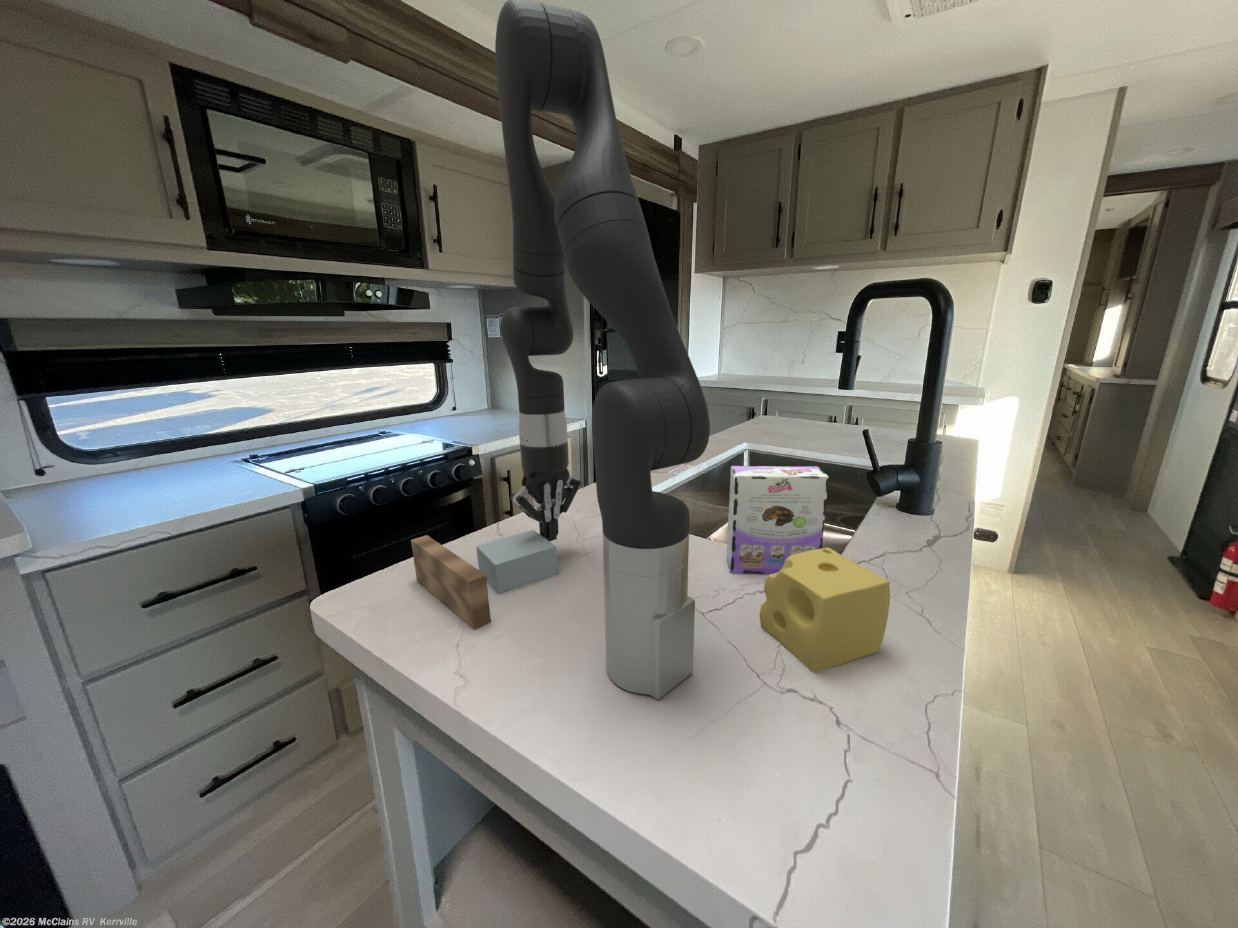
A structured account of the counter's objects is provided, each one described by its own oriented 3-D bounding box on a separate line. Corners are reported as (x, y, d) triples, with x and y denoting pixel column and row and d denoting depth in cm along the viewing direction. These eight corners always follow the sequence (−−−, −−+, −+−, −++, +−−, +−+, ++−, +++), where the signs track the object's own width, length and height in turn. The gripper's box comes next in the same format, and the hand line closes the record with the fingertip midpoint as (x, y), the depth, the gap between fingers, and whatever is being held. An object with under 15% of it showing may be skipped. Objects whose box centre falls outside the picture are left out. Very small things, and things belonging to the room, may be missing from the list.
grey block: (557, 574, 79) (555, 546, 78) (498, 595, 74) (495, 565, 72) (535, 556, 85) (533, 529, 84) (479, 573, 80) (476, 545, 79)
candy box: (809, 559, 83) (819, 464, 78) (819, 577, 77) (831, 476, 72) (725, 556, 84) (730, 463, 79) (729, 574, 78) (734, 474, 74)
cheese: (757, 626, 65) (762, 557, 62) (823, 609, 69) (831, 543, 66) (814, 678, 56) (822, 599, 53) (886, 654, 59) (898, 580, 56)
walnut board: (490, 621, 67) (486, 574, 65) (473, 629, 65) (468, 581, 63) (432, 575, 79) (426, 535, 77) (416, 580, 78) (410, 539, 76)
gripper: (521, 451, 71) (529, 560, 76) (591, 435, 80) (594, 534, 85) (494, 442, 77) (503, 544, 82) (562, 428, 85) (567, 521, 90)
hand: (549, 539), depth 83 cm, fingers closed
